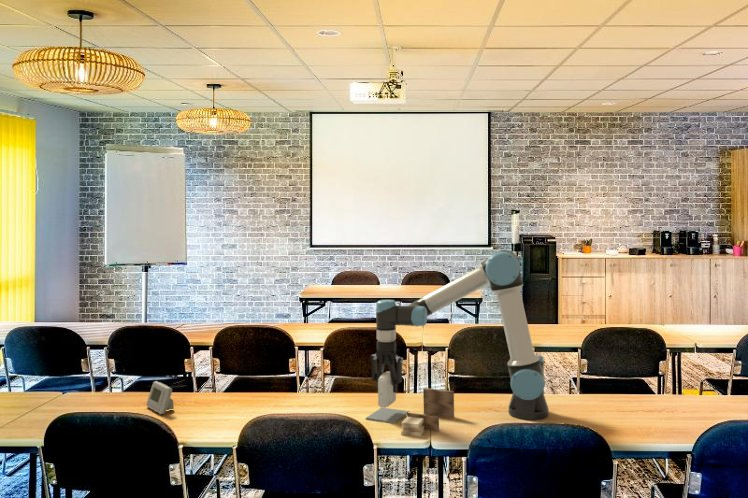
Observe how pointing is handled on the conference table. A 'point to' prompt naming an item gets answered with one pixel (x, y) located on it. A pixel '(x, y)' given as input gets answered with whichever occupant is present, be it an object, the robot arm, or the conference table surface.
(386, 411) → the slate pad
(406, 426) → the offcut stack
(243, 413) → the conference table surface
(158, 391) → the digital clock
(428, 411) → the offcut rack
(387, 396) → the white arched block
